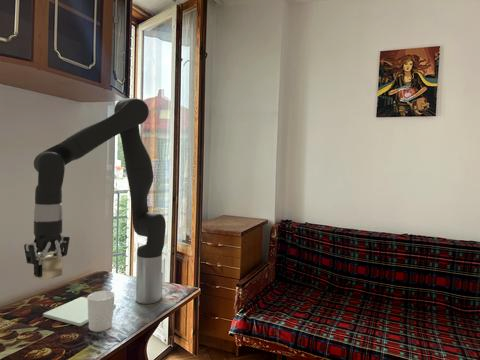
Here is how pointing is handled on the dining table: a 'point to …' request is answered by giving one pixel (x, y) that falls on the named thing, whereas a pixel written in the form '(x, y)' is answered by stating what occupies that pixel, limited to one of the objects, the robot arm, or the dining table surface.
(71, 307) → the sage board
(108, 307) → the white cup
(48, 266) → the beech cube
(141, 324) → the dining table surface
